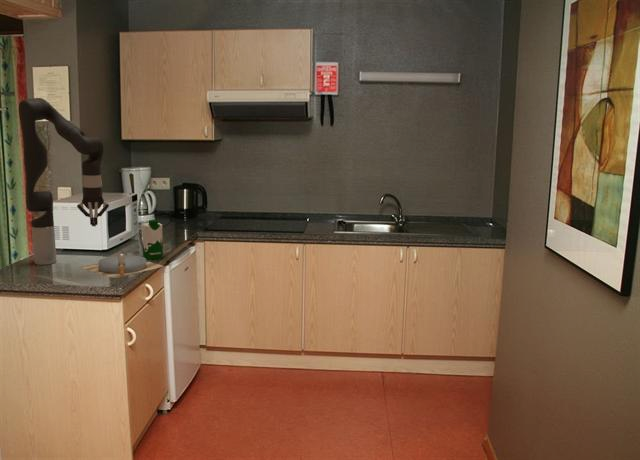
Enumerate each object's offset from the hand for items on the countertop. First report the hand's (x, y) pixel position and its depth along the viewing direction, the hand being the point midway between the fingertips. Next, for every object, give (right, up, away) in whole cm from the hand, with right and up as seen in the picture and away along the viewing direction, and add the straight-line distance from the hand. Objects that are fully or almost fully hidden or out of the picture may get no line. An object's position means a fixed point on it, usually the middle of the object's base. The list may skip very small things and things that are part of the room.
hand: (94, 226), depth 230 cm
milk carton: (+16, -17, +30) cm, 38 cm away
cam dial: (+8, -18, +11) cm, 23 cm away
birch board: (+8, -20, +13) cm, 25 cm away
